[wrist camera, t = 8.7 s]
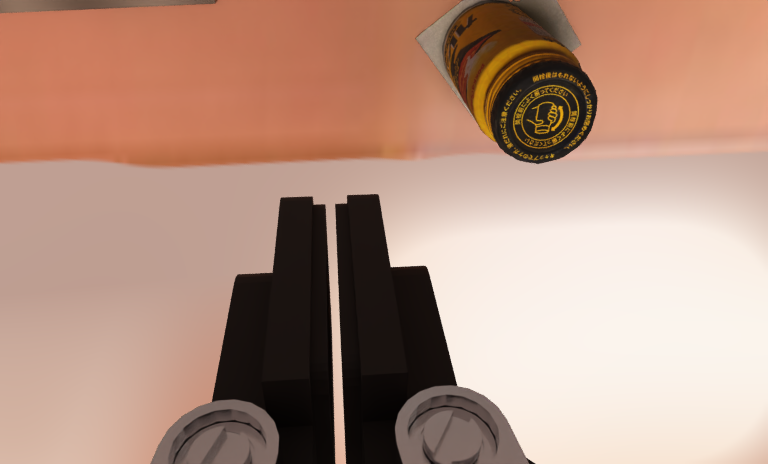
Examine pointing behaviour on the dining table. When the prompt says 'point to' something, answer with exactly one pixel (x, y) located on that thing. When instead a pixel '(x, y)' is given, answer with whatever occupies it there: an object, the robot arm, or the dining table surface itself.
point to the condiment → (516, 74)
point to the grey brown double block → (87, 4)
